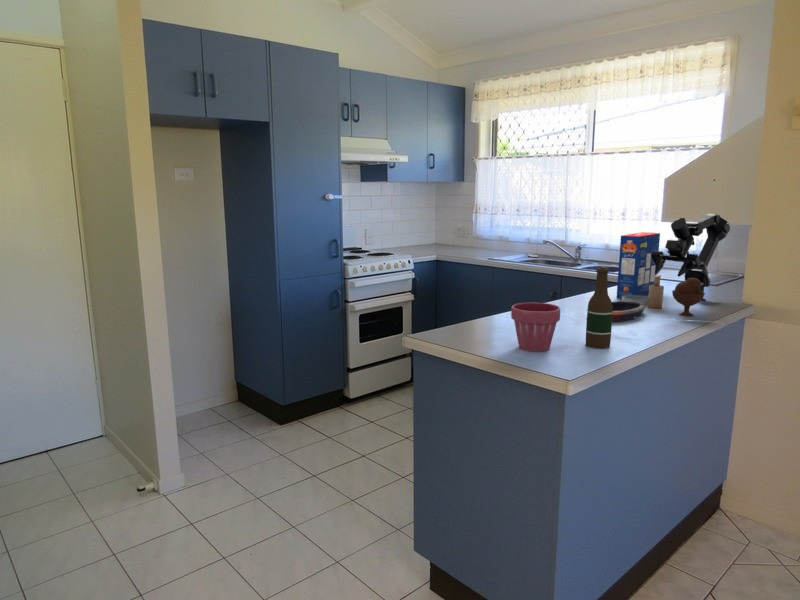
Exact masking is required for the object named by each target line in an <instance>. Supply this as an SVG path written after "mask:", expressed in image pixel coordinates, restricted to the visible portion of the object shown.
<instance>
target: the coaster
mask: <svg viewBox="0 0 800 600" xmlns="http://www.w3.org/2000/svg"><path fill="white" fill-rule="evenodd" d="M645 309H646V310H653V311H654V310H656V311H658V310H659V311H666V309H665V307H663V306H662V309H650V308H648V306H645Z"/></svg>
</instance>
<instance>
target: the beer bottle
mask: <svg viewBox="0 0 800 600" xmlns="http://www.w3.org/2000/svg"><path fill="white" fill-rule="evenodd" d="M595 273H596V281H595V286H594V287H595V288H594V292H593V294H592V295H591V297H590V298H589V301H588V303H587V309H586V312H587V313H586V325H585V326H586V327H585V346H586V347H588V348H591V349H597V350H599V349H600V350H604V349H610V347H611V342H612V327H613V326H612V325H613V322H612V315H613V306H612V302H613V301H612V300H611V299H612V298H610V296H609V293H608V277H609V276H608V275H609V274H608V273H609V268H606V267H597V268H596V271H595Z"/></svg>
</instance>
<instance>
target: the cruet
mask: <svg viewBox="0 0 800 600" xmlns="http://www.w3.org/2000/svg"><path fill="white" fill-rule="evenodd" d="M661 278H662V275H660V274H657V275H654V285H649V295H648V308H650V309H649V310H651V309H662V307H663V303H664V302H663V301H664V293H665V292H664V291H665V290H664V289H665V286H664V285H661V284H660V283H661Z"/></svg>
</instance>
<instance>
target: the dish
mask: <svg viewBox="0 0 800 600" xmlns="http://www.w3.org/2000/svg"><path fill="white" fill-rule="evenodd" d="M611 302H612V306H613V315H612V323H613V322H624V321H629V320H633V319H635V318H637V317H640V316H641V315H642V314H643V312H644V310H645V309H646V308H645V304H644V303H640V302H635V301H622V300H617V301H616V300H615V301H611Z"/></svg>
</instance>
